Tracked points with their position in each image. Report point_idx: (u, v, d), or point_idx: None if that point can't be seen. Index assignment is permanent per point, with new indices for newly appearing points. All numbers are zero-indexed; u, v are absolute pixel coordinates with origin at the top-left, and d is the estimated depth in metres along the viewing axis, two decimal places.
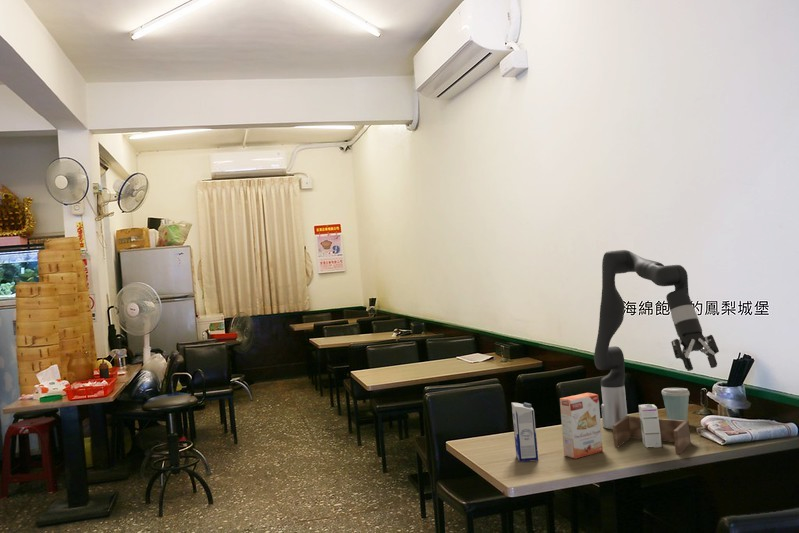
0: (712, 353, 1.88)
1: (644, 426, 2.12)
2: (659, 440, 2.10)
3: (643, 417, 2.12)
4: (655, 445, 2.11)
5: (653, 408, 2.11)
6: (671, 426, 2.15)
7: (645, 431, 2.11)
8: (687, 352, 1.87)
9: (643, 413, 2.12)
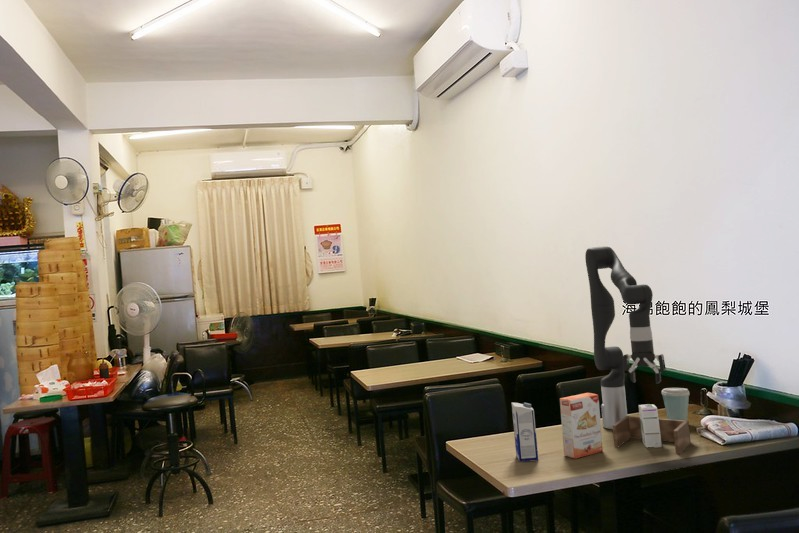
0: (656, 372, 2.11)
1: (644, 426, 2.12)
2: (659, 440, 2.10)
3: (643, 417, 2.12)
4: (655, 445, 2.11)
5: (653, 408, 2.11)
6: (671, 426, 2.15)
7: (645, 431, 2.11)
8: (631, 368, 2.16)
9: (643, 413, 2.12)
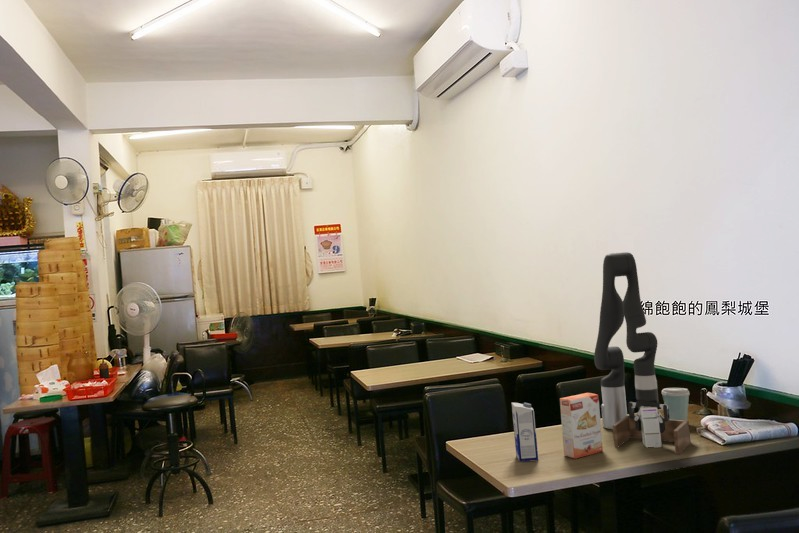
0: (660, 421, 2.10)
1: (644, 426, 2.12)
2: (659, 440, 2.10)
3: (643, 417, 2.12)
4: (655, 445, 2.11)
5: (653, 408, 2.11)
6: (671, 426, 2.15)
7: (645, 431, 2.11)
8: (637, 416, 2.15)
9: (643, 413, 2.12)
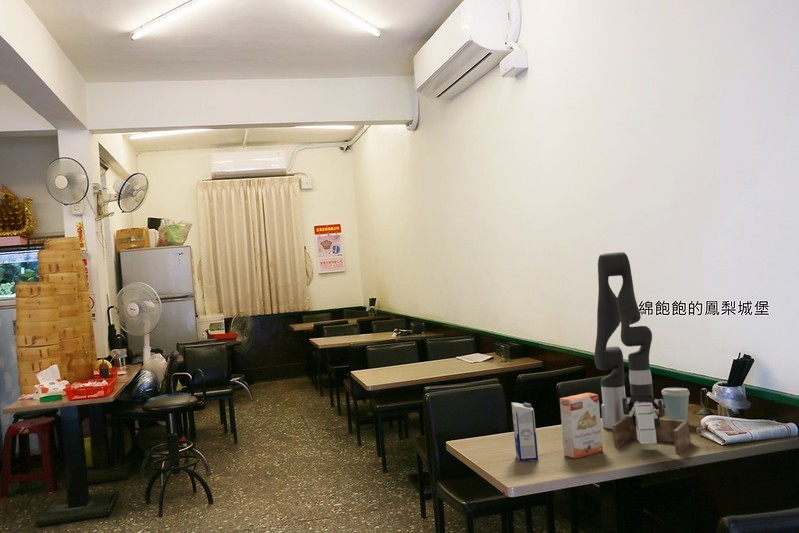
0: (655, 417, 2.05)
1: (639, 422, 2.07)
2: (654, 436, 2.06)
3: (638, 413, 2.07)
4: (650, 441, 2.06)
5: (648, 403, 2.06)
6: (671, 426, 2.15)
7: (640, 427, 2.07)
8: (631, 411, 2.11)
9: (638, 408, 2.07)
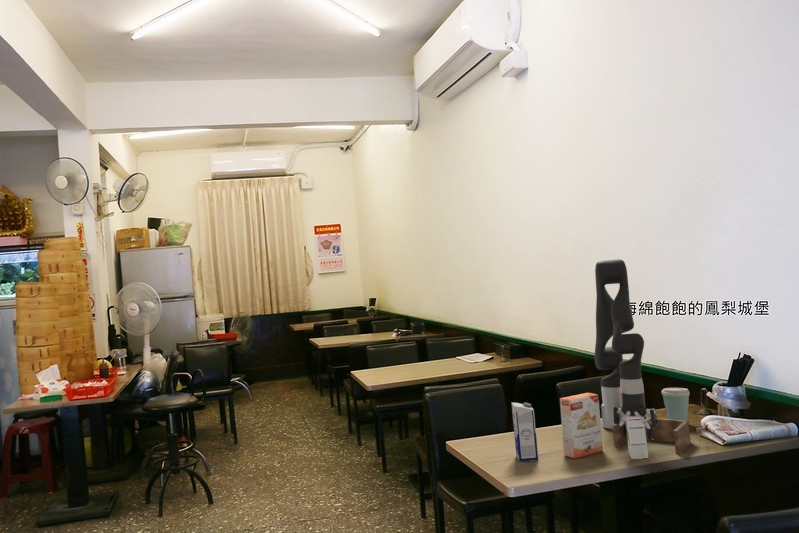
0: (647, 427, 1.99)
1: (630, 436, 2.00)
2: (646, 451, 1.99)
3: (629, 427, 2.00)
4: (641, 456, 1.99)
5: None
6: (671, 426, 2.15)
7: (631, 442, 2.00)
8: (622, 421, 2.04)
9: (629, 423, 2.00)
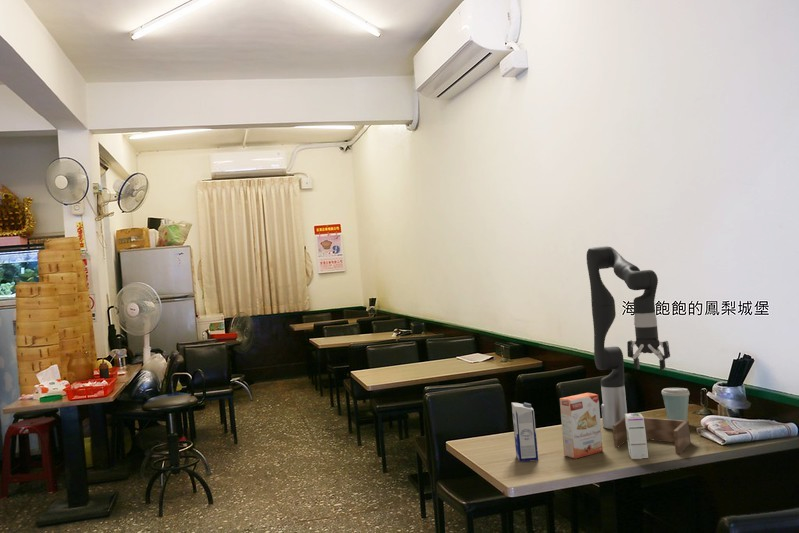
0: (660, 358, 2.08)
1: (630, 436, 2.00)
2: (646, 451, 1.99)
3: (629, 427, 2.00)
4: (641, 456, 1.99)
5: (639, 417, 2.00)
6: (671, 426, 2.15)
7: (631, 442, 2.00)
8: (635, 354, 2.13)
9: (629, 423, 2.00)
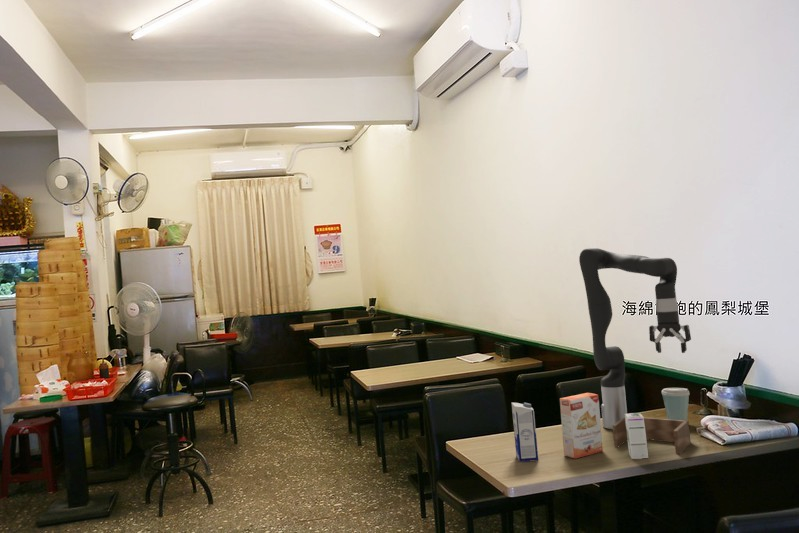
0: (682, 341, 2.18)
1: (630, 436, 2.00)
2: (646, 451, 1.99)
3: (629, 427, 2.00)
4: (641, 456, 1.99)
5: (639, 417, 2.00)
6: (671, 426, 2.15)
7: (631, 442, 2.00)
8: (657, 338, 2.23)
9: (629, 423, 2.00)
